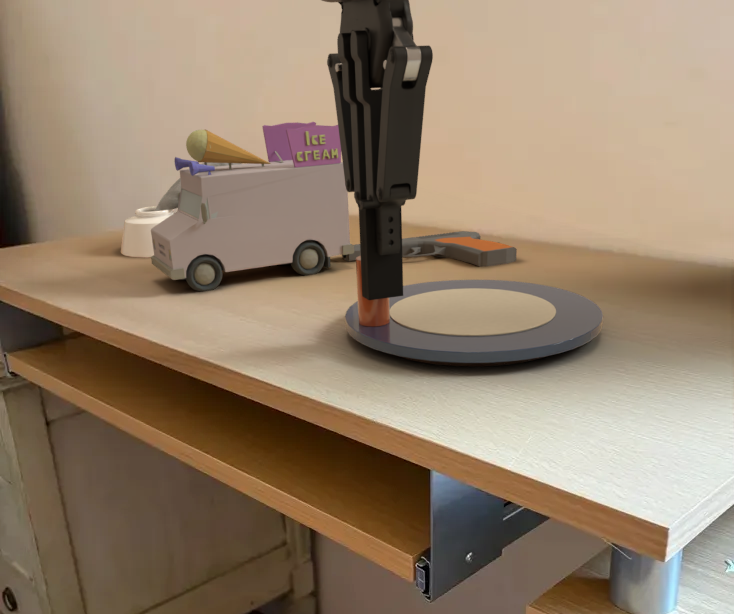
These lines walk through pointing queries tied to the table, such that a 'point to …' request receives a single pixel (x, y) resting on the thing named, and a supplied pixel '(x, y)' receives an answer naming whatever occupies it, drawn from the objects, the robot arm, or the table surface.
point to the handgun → (454, 249)
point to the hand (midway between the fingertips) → (382, 295)
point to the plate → (474, 321)
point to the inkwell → (151, 221)
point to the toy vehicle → (256, 206)
